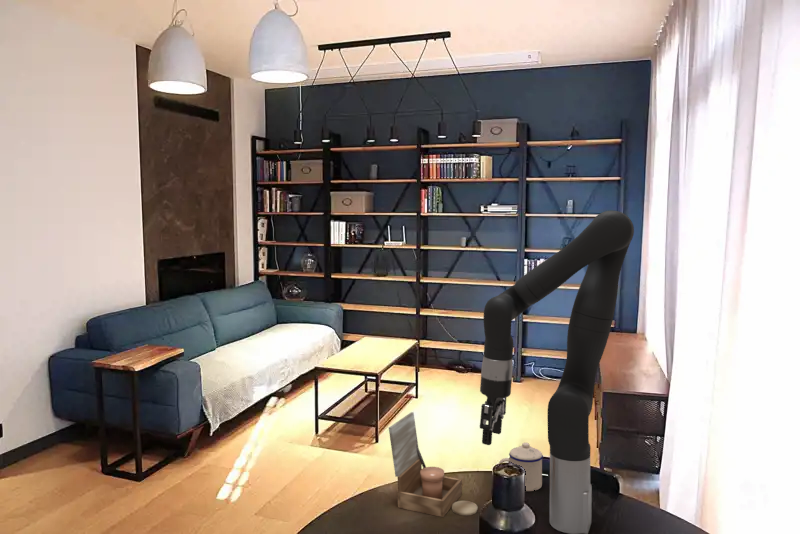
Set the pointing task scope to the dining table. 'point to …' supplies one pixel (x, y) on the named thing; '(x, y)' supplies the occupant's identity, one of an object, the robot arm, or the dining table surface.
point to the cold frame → (417, 472)
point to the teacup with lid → (528, 464)
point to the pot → (432, 482)
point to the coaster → (464, 508)
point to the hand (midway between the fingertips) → (491, 438)
